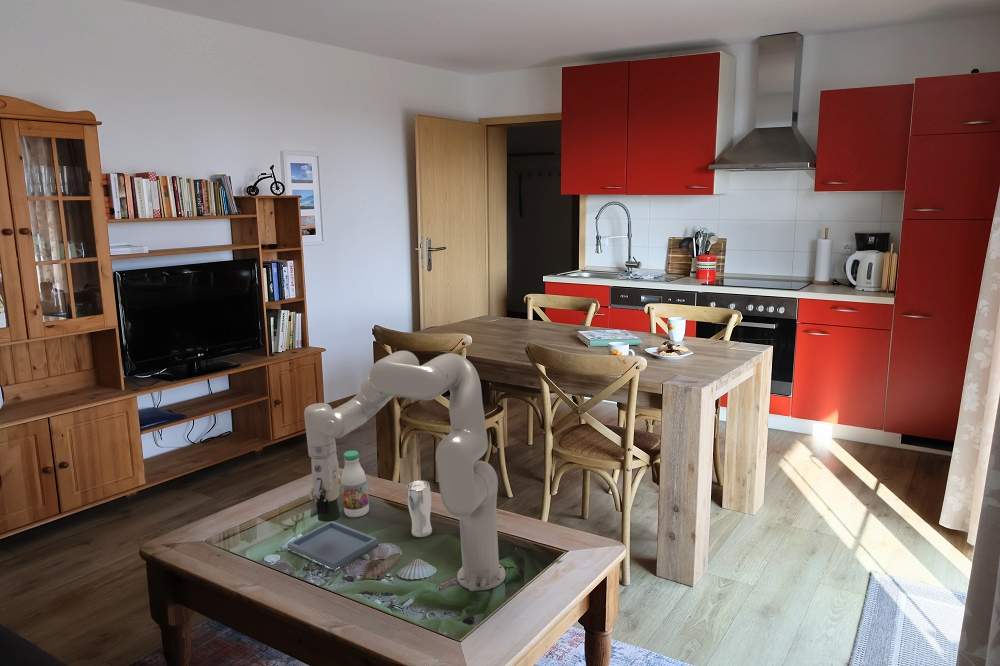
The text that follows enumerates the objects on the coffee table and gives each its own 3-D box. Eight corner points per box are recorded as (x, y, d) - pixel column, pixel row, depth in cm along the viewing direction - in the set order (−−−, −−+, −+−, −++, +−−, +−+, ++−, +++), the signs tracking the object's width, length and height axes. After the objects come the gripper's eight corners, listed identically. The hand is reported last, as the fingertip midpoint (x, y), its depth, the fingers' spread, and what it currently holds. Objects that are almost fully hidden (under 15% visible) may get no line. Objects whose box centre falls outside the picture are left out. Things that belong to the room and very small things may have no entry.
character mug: (336, 508, 212) (332, 466, 209) (352, 514, 208) (348, 472, 205) (305, 523, 204) (300, 480, 201) (321, 530, 199) (316, 486, 197)
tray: (378, 545, 208) (377, 538, 208) (334, 571, 196) (333, 563, 195) (332, 527, 220) (331, 520, 220) (288, 551, 208) (287, 543, 207)
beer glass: (432, 537, 211) (428, 490, 208) (408, 538, 212) (404, 490, 208) (434, 526, 218) (431, 479, 215) (411, 526, 218) (407, 480, 215)
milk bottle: (343, 509, 232) (337, 450, 227) (367, 504, 234) (362, 446, 229) (345, 519, 225) (339, 459, 220) (370, 515, 227) (365, 455, 222)
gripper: (325, 460, 192) (332, 521, 196) (344, 436, 209) (349, 492, 213) (298, 461, 193) (305, 521, 197) (318, 436, 210) (324, 492, 214)
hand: (328, 506), depth 205 cm, fingers closed on character mug, 8 cm apart
